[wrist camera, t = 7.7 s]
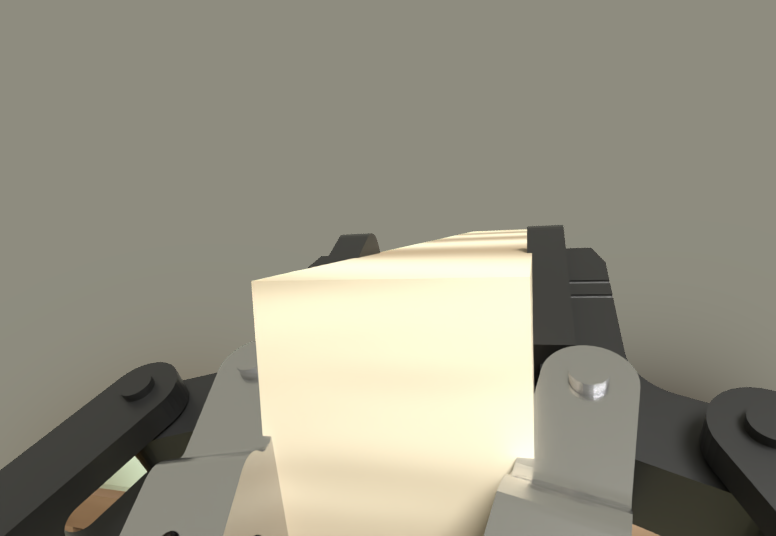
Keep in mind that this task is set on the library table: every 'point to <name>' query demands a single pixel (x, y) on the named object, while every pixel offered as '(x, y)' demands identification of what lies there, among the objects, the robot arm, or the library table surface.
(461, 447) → the maple stick
